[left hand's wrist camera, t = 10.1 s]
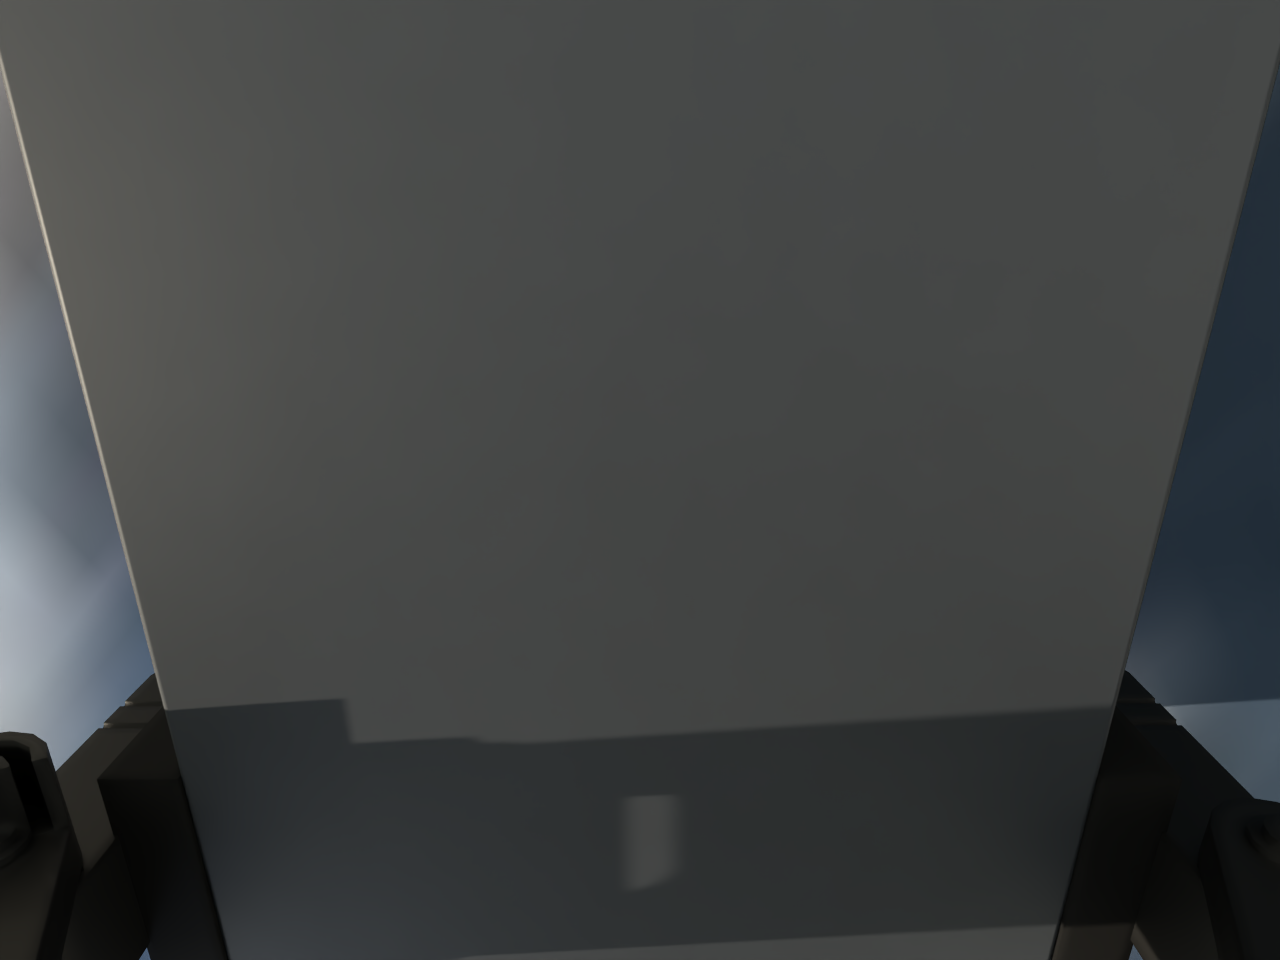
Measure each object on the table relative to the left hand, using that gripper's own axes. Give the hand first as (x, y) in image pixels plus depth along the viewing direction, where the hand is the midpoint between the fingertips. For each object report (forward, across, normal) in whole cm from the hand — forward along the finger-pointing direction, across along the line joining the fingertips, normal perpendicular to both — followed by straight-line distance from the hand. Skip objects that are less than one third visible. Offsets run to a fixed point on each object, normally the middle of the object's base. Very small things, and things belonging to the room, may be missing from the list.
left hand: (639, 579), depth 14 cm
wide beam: (+1, 0, -26) cm, 26 cm away
